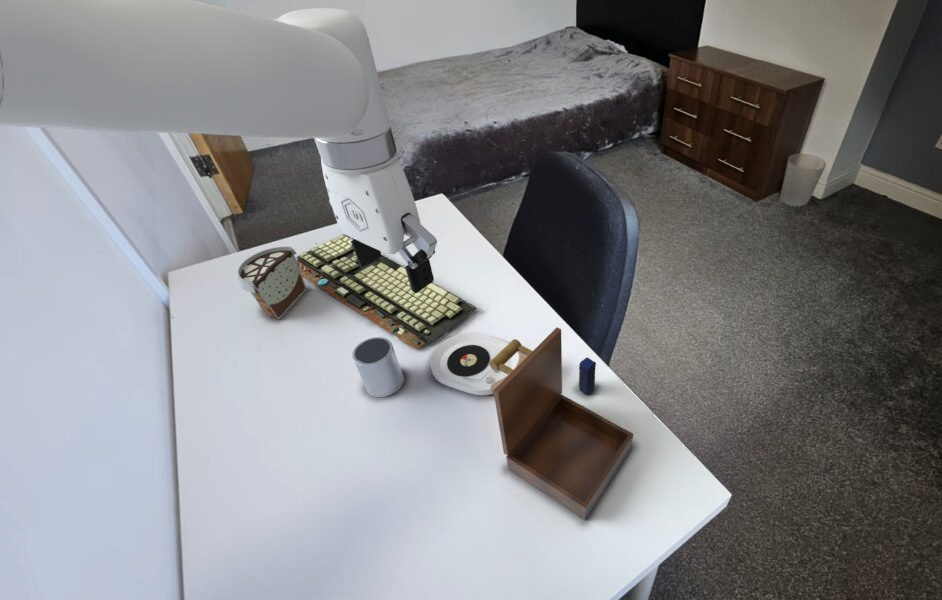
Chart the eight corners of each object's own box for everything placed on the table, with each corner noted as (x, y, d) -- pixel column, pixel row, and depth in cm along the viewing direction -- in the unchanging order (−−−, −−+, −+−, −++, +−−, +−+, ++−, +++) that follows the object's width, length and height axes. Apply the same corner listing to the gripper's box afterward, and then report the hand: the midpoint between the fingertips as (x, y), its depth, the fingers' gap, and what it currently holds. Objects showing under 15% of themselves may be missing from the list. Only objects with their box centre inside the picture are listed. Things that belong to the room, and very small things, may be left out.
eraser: (587, 397, 78) (588, 370, 74) (577, 389, 79) (578, 362, 75) (595, 389, 79) (597, 362, 75) (585, 382, 80) (587, 355, 76)
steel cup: (382, 403, 76) (368, 370, 71) (358, 386, 79) (343, 354, 73) (411, 379, 80) (400, 346, 75) (387, 364, 82) (375, 331, 77)
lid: (561, 329, 64) (530, 314, 67) (498, 393, 56) (464, 373, 58) (562, 392, 74) (534, 377, 76) (507, 456, 65) (478, 437, 67)
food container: (283, 281, 99) (263, 242, 92) (311, 284, 98) (292, 245, 92) (243, 321, 90) (218, 280, 83) (273, 325, 89) (250, 284, 82)
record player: (521, 400, 73) (414, 364, 79) (522, 412, 75) (418, 377, 81) (551, 349, 82) (453, 320, 87) (552, 361, 84) (455, 332, 89)
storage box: (631, 447, 71) (633, 433, 69) (584, 520, 63) (585, 508, 60) (560, 407, 76) (560, 393, 74) (508, 469, 68) (506, 456, 66)
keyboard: (478, 312, 93) (476, 302, 91) (418, 356, 84) (415, 346, 82) (344, 235, 112) (340, 226, 111) (284, 264, 103) (279, 255, 101)
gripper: (275, 139, 51) (328, 266, 62) (385, 181, 44) (422, 314, 55) (335, 118, 55) (374, 239, 67) (442, 153, 49) (466, 281, 60)
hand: (396, 273), depth 61 cm, fingers open, 9 cm apart
